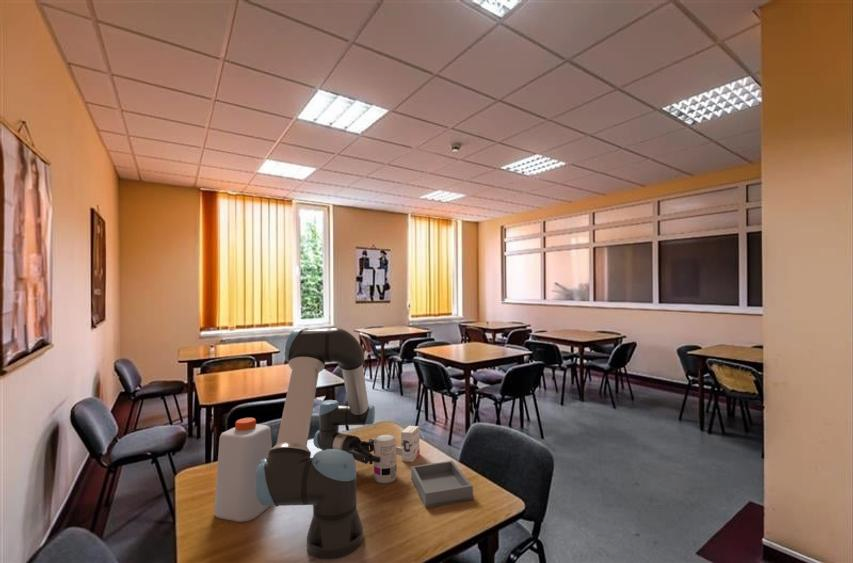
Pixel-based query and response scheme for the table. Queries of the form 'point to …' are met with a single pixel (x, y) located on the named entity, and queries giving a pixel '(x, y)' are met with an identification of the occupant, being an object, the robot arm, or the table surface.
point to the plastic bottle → (240, 470)
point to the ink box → (410, 443)
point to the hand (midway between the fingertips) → (395, 456)
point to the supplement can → (386, 447)
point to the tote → (441, 484)
